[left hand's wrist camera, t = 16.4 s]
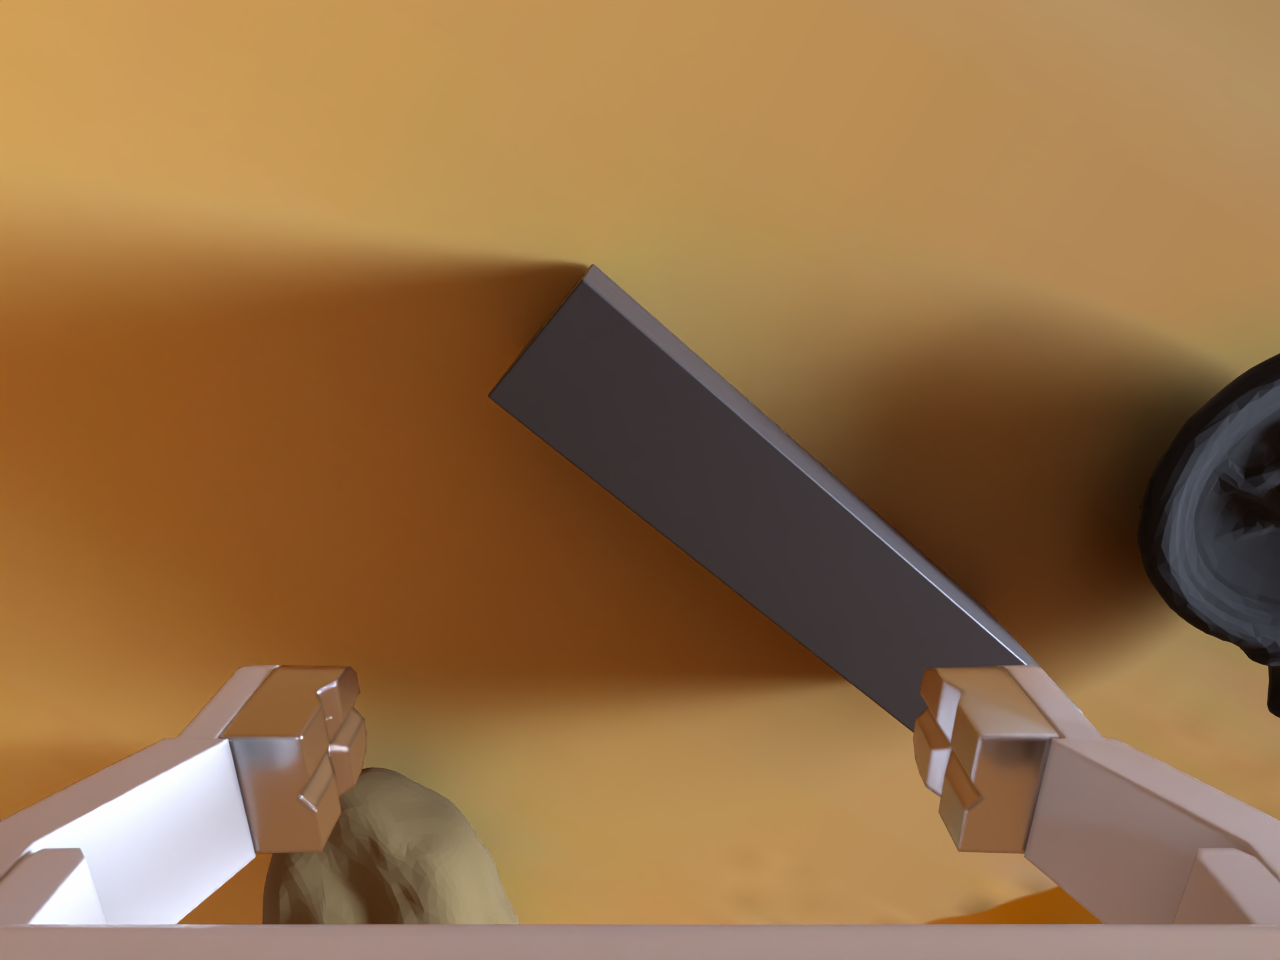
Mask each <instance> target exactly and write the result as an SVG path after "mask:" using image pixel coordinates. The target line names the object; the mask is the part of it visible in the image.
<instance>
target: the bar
mask: <svg viewBox="0 0 1280 960" xmlns="http://www.w3.org/2000/svg"><path fill="white" fill-rule="evenodd" d="M488 397H489V398H490V399H491V400H493V401H494V402H495V403H496V404H498V405H499V406H500V407H501V408H503V409H504V410H505V411H506V412H508V413H509V414H510V415H512V416H513V417H514V418H515V419H517V420H518V421H519V422H520V423H522V424H523V425H524V426H525V427H527V428H528V429H529V430H531V431H532V432H533V433H534V434H536V435H537V436H538V437H539V438H541V439H542V440H543V441H545V442H546V443H547V444H548V445H550V446H551V447H552V448H553V449H555V450H556V451H557V452H558V453H560V454H561V455H562V456H564V457H565V458H566V459H567V460H569V461H570V462H571V463H572V464H574V465H575V466H576V467H577V468H579V469H580V470H581V471H583V472H584V473H585V474H586V475H588V476H589V477H590V478H591V479H593V480H594V481H595V482H596V483H598V484H599V485H600V486H602V487H603V488H604V489H605V490H607V491H608V492H609V493H610V494H612V495H613V496H614V497H615V498H617V499H618V500H619V501H621V502H622V503H623V504H624V505H626V506H627V507H628V508H629V509H631V510H632V511H633V512H634V513H636V514H637V515H638V516H640V517H641V518H642V519H643V520H645V521H646V522H647V523H648V524H650V525H651V526H652V527H654V528H655V529H656V530H657V531H659V532H660V533H661V534H662V535H664V536H665V537H666V538H667V539H669V540H670V541H671V542H673V543H674V544H675V545H676V546H678V547H679V548H680V549H681V550H683V551H684V552H685V553H686V554H688V555H689V556H690V557H692V558H693V559H694V560H695V561H697V562H698V563H699V564H700V565H702V566H703V567H704V568H705V569H707V570H708V571H709V572H711V573H712V574H713V575H714V576H716V577H717V578H718V579H719V580H721V581H722V582H723V583H724V584H726V585H727V586H728V587H730V588H731V589H732V590H733V591H735V592H736V593H737V594H738V595H740V596H741V597H742V598H743V599H745V600H746V601H747V602H749V603H750V604H751V605H752V606H754V607H755V608H756V609H757V610H759V611H760V612H761V613H763V614H764V615H765V616H766V617H768V618H769V619H770V620H771V621H773V622H774V623H775V624H776V625H778V626H779V627H780V628H782V629H783V630H784V631H785V632H787V633H788V634H789V635H790V636H792V637H793V638H794V639H795V640H797V641H798V642H799V643H801V644H802V645H803V646H804V647H806V648H807V649H808V650H809V651H811V652H812V653H813V654H814V655H816V656H817V657H818V658H820V659H821V660H822V661H823V662H825V663H826V664H827V665H828V666H830V667H831V668H832V669H833V670H835V671H836V672H837V673H839V674H840V675H841V676H842V677H844V678H845V679H846V680H847V681H849V682H850V683H851V684H852V685H854V686H855V687H856V688H858V689H859V690H860V691H861V692H863V693H864V694H865V695H866V696H868V697H869V698H870V699H872V700H873V701H874V702H875V703H877V704H878V705H879V706H880V707H882V708H883V709H884V710H885V711H887V712H888V713H889V714H891V715H892V716H893V717H894V718H896V719H897V720H898V721H899V722H901V723H902V724H903V725H904V726H906V727H907V728H908V729H910V730H911V731H912V732H913V733H914V727H915V719H916V717H917V716H918V715H919V714H920V713H921V712H922V711H923V710H924V709H925V708H926V707H927V704H926V703H925V701H924V699H923V697H922V696H921V694H920V687H921V681H922V676H923V674H924V672H925V670H926V668H933V667H993V666H1005V665H1035V666H1037V667H1039V668H1041V667H1040V666H1039V665H1038V664H1037V663H1036V662H1035V661H1034V660H1033V659H1032V657H1031V656H1030V655H1029V654H1028V653H1027V652H1026V651H1025V650H1024V649H1023V648H1022V647H1021V646H1020V644H1019V643H1018V642H1017V641H1016V640H1015V639H1014V638H1013V637H1012V636H1011V635H1010V634H1009V633H1008V632H1007V630H1006V629H1005V628H1004V627H1003V626H1002V625H1001V624H1000V623H999V622H998V621H997V620H996V619H995V618H994V616H993V615H992V614H991V613H990V612H989V611H988V610H987V609H986V608H984V607H983V606H982V605H981V604H980V603H979V602H978V601H976V600H975V599H974V598H973V597H972V596H971V595H970V594H968V593H967V592H966V591H965V590H964V589H963V588H962V587H960V586H959V585H958V584H957V583H956V582H955V581H954V580H953V579H951V578H950V577H949V576H948V575H947V574H946V573H945V572H943V571H942V570H941V569H940V568H939V567H938V566H937V565H935V564H934V563H933V562H932V561H931V560H930V559H929V558H927V557H926V556H925V555H924V554H923V553H922V552H921V551H920V550H918V549H917V548H916V547H915V546H914V545H913V544H912V543H910V542H909V541H908V540H907V539H906V538H905V537H904V536H902V535H901V534H900V533H899V532H898V531H897V530H896V529H894V528H893V527H892V526H891V525H890V524H889V523H888V522H887V521H885V520H884V519H883V518H882V517H881V516H880V515H879V514H877V513H876V512H875V511H874V510H873V509H872V508H871V507H869V506H868V505H867V504H866V503H865V502H864V501H863V500H861V499H860V498H859V497H858V496H857V495H856V494H855V493H854V492H852V491H851V490H850V489H849V488H848V487H847V486H846V485H844V484H843V483H842V482H841V481H840V480H839V479H838V478H836V477H835V476H834V475H833V474H832V473H831V472H830V471H828V470H827V469H826V468H825V467H824V466H823V465H822V464H821V463H819V462H818V461H817V460H816V459H815V458H814V457H813V456H811V455H810V454H809V453H808V452H807V451H806V450H805V449H803V448H802V447H801V446H800V445H799V444H798V443H797V442H795V441H794V440H793V439H792V438H791V437H790V436H789V435H788V434H786V433H785V432H784V431H783V430H782V429H781V428H780V427H778V426H777V425H776V424H775V423H774V422H773V421H772V420H770V419H769V418H768V417H767V416H766V415H765V414H764V413H762V412H761V411H760V410H759V409H758V408H757V407H756V406H754V405H753V404H752V403H751V402H750V401H749V400H748V399H747V398H745V397H744V396H743V395H742V394H741V393H740V392H739V391H737V390H736V389H735V388H734V387H733V386H732V385H731V384H729V383H728V382H727V381H726V380H725V379H724V378H723V377H721V376H720V375H719V374H718V373H717V372H716V371H715V370H714V369H712V368H711V367H710V366H709V365H708V364H707V363H706V362H704V361H703V360H702V359H701V358H700V357H699V356H698V355H696V354H695V353H694V352H693V351H692V350H691V349H690V348H688V347H687V346H686V345H685V344H684V343H683V342H682V341H681V340H679V339H678V338H677V337H676V336H675V335H674V334H673V333H671V332H670V331H669V330H668V329H667V328H666V327H665V326H663V325H662V324H661V323H660V322H659V321H658V320H657V319H655V318H654V317H653V316H652V315H651V314H650V313H649V312H648V311H646V310H645V309H644V308H643V307H642V306H641V305H640V304H638V303H637V302H636V301H635V300H634V299H633V298H632V297H630V296H629V295H628V294H627V293H626V292H625V291H624V290H622V289H621V288H620V287H619V286H618V285H617V284H616V283H615V282H613V281H612V280H611V279H610V278H609V277H608V276H607V275H605V274H604V273H603V272H602V271H601V270H600V269H599V268H597V267H596V266H595V265H594V264H592V265H591V266H590V267H589V269H588V270H587V271H586V272H585V274H584V275H583V276H582V277H581V279H580V280H579V281H578V282H577V284H576V285H575V286H574V287H573V289H572V290H571V291H570V292H569V294H568V295H567V296H566V297H565V298H564V300H563V301H562V302H561V303H560V305H559V306H558V307H557V308H556V310H555V311H554V312H553V313H552V315H551V316H550V317H549V318H548V320H547V321H546V322H545V323H544V325H543V326H542V327H541V328H540V329H539V331H538V332H537V333H536V334H535V336H534V337H533V338H532V339H531V341H530V342H529V343H528V344H527V346H526V347H525V348H524V349H523V351H522V352H521V353H520V354H519V356H518V357H517V358H516V360H515V361H514V362H513V363H512V365H511V366H510V367H509V369H508V370H507V371H506V372H505V374H504V375H503V376H502V378H501V379H500V380H499V382H498V383H497V384H496V385H495V387H494V388H493V389H492V391H491V392H490V393H489V395H488ZM1041 669H1042V668H1041ZM1044 672H1045V671H1044ZM1052 681H1053V680H1052ZM1053 682H1054V681H1053ZM1054 683H1055V682H1054ZM1055 684H1056V683H1055ZM1056 685H1057V684H1056ZM1057 686H1058V685H1057ZM1060 690H1061V689H1060ZM1061 691H1062V690H1061ZM1062 692H1063V691H1062ZM1063 693H1064V692H1063ZM1064 694H1065V693H1064ZM1065 695H1066V694H1065ZM1066 696H1067V695H1066ZM1067 697H1068V696H1067ZM1068 699H1069V700H1070V698H1069V697H1068ZM1070 701H1071V700H1070ZM1071 702H1072V701H1071ZM1072 703H1073V702H1072ZM1073 704H1074V703H1073ZM1074 705H1075V704H1074ZM1075 706H1076V705H1075ZM1076 707H1077V706H1076ZM1077 709H1078V710H1079V711H1080V712H1081V713H1082V711H1081V710H1080V709H1079V708H1078V707H1077Z"/></svg>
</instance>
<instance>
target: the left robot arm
mask: <svg viewBox="0 0 1280 960" xmlns="http://www.w3.org/2000/svg"><path fill="white" fill-rule="evenodd" d="M359 694H360V688H359V683H358V678H357V672H355V671H354V670H353V669H352V668H351V667H345V666H297V665H282V666H279V665H247V666H244V667H240V668H238V669H237V670H236V672H235V673H234V674H233V675H232V676H231V677H230V678H229V679H228V681H227V682H226V683H225V684H224V685H223V686H222V687H221V688H220V690H219V691H218V692H217V693H216V694H215V695H214V696H213V697H212V698H211V700H210V701H209V702H208V703H207V704H206V705H205V706H204V707H203V709H202V710H201V711H200V712H199V713H198V714H197V715H196V716H195V718H194V719H193V720H192V721H191V722H190V723H189V724H188V725H187V726H186V728H185V729H184V730H183V731H182V732H181V733H180V734H179V735H178V737H177V738H176V739H162V740H160V741H158V742H156V743H154V744H152V745H150V746H148V747H146V748H144V749H142V750H140V751H138V752H136V753H134V754H132V755H130V756H128V757H126V758H124V759H122V760H120V761H118V762H116V763H114V764H112V765H110V766H108V767H106V768H104V769H102V770H100V771H98V772H96V773H94V774H92V775H90V776H88V777H86V778H84V779H82V780H80V781H78V782H76V783H74V784H72V785H70V786H68V787H66V788H64V789H62V790H60V791H58V792H56V793H54V794H52V795H50V796H48V797H46V798H44V799H42V800H40V801H38V802H36V803H34V804H32V805H30V806H28V807H26V808H24V809H22V810H20V811H18V812H16V813H14V814H12V815H10V816H8V817H6V818H4V819H2V820H0V960H1280V821H1279V820H1277V819H1275V818H1273V817H1271V816H1269V815H1267V814H1265V813H1263V812H1261V811H1259V810H1257V809H1255V808H1253V807H1251V806H1249V805H1247V804H1245V803H1243V802H1241V801H1239V800H1237V799H1235V798H1233V797H1231V796H1229V795H1227V794H1225V793H1223V792H1221V791H1219V790H1217V789H1215V788H1213V787H1211V786H1209V785H1207V784H1205V783H1203V782H1201V781H1199V780H1197V779H1195V778H1193V777H1191V776H1190V775H1188V774H1186V773H1184V772H1182V771H1180V770H1178V769H1176V768H1174V767H1172V766H1170V765H1168V764H1166V763H1164V762H1162V761H1160V760H1158V759H1156V758H1154V757H1152V756H1150V755H1148V754H1146V753H1144V752H1142V751H1140V750H1138V749H1136V748H1134V747H1132V746H1130V745H1128V744H1126V743H1124V742H1122V741H1120V740H1118V739H1104V738H1103V737H1102V735H1101V734H1100V733H1099V732H1098V731H1097V730H1096V729H1095V728H1094V727H1093V725H1092V724H1091V723H1090V722H1089V721H1088V720H1087V719H1086V718H1085V716H1084V715H1083V714H1082V713H1081V712H1080V711H1079V710H1078V709H1077V707H1076V706H1075V705H1074V704H1073V703H1072V702H1071V701H1070V700H1069V699H1068V697H1067V696H1066V695H1065V694H1064V693H1063V692H1062V691H1061V690H1060V688H1059V687H1058V686H1057V685H1056V684H1055V683H1054V682H1053V681H1052V679H1051V678H1050V677H1049V676H1048V675H1047V674H1046V673H1045V672H1044V670H1043V669H1041V668H1039V667H1037V666H1035V665H1005V666H993V667H933V668H926V670H925V672H924V674H923V676H922V681H921V687H920V694H921V696H922V697H923V699H924V701H925V703H926V704H927V707H926V708H925V709H924V710H923V711H922V712H921V713H920V714H919V715H918V716H917V717H916V719H915V727H914V736H913V742H914V753H915V760H916V763H917V767H918V770H919V773H920V776H921V778H922V780H923V782H924V784H925V786H926V787H927V788H928V789H929V790H931V791H932V792H934V793H935V794H937V795H938V796H939V797H941V800H940V806H939V814H940V816H941V818H942V820H943V822H944V824H945V826H946V828H947V830H948V832H949V834H950V836H951V838H952V840H953V842H954V844H955V846H956V848H957V850H958V852H987V853H1022V854H1025V855H1024V857H1025V858H1026V859H1028V860H1029V861H1030V862H1031V863H1032V864H1033V865H1035V866H1036V867H1037V868H1038V869H1039V870H1041V871H1042V872H1043V873H1044V874H1045V875H1047V876H1048V877H1049V878H1050V879H1051V880H1052V881H1054V882H1055V883H1056V884H1057V885H1058V886H1060V887H1061V888H1062V889H1063V890H1064V891H1066V892H1067V893H1068V894H1069V895H1070V896H1072V897H1073V898H1074V899H1075V900H1076V901H1077V902H1079V903H1080V904H1081V905H1082V906H1083V907H1085V908H1086V909H1087V910H1088V911H1089V912H1091V913H1092V914H1093V915H1094V916H1095V917H1097V918H1098V919H1099V920H1100V921H1101V922H1102V923H1104V924H961V925H960V924H959V925H958V924H957V925H956V924H954V925H953V924H948V925H947V924H942V925H941V924H937V925H936V924H933V925H931V924H885V925H884V924H883V925H669V924H239V925H220V924H177V923H178V922H179V921H180V920H181V919H183V918H184V917H185V916H186V915H187V914H188V913H190V912H191V911H192V910H193V909H194V908H196V907H197V906H198V905H199V904H200V903H202V902H203V901H204V900H205V899H206V898H208V897H209V896H210V895H211V894H212V893H214V892H215V891H216V890H217V889H218V888H219V887H221V886H222V885H223V884H224V883H225V882H227V881H228V880H229V879H230V878H231V877H233V876H234V875H235V874H236V873H237V872H239V871H240V870H241V869H242V868H243V867H244V866H246V865H247V864H248V863H249V862H250V861H252V860H253V859H254V858H255V857H256V855H255V854H257V853H292V852H322V850H323V848H324V846H325V844H326V842H327V840H328V838H329V836H330V834H331V832H332V830H333V828H334V826H335V824H336V822H337V820H338V818H339V816H340V814H341V806H340V800H339V797H341V796H342V795H343V794H345V793H346V792H348V791H349V790H351V789H352V788H353V787H354V786H355V784H356V782H357V780H358V778H359V775H360V773H361V771H362V767H363V762H364V758H365V753H366V737H367V733H366V726H365V719H364V717H363V716H362V715H361V714H360V713H359V712H358V711H357V710H356V709H355V708H354V707H353V704H354V703H355V701H356V699H357V697H358V696H359Z"/></svg>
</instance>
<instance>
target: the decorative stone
mask: <svg viewBox="0 0 1280 960" xmlns="http://www.w3.org/2000/svg"><path fill="white" fill-rule="evenodd" d="M339 800H340V806H341V814H340V816H339V818H338V820H337V822H336V824H335V826H334V828H333V830H332V832H331V834H330V836H329V838H328V840H327V842H326V844H325V846H324V848H323V850H322V852H292V853H273V855H272V859H271V862H270V866H269V869H268V873H267V877H266V882H265V887H264V895H263V924H520V923H519V920H518V918H517V916H516V914H515V912H514V910H513V908H512V906H511V904H510V902H509V900H508V898H507V896H506V894H505V891H504V889H503V886H502V884H501V882H500V879H499V877H498V874H497V871H496V868H495V865H494V862H493V859H492V857H491V855H490V853H489V852H488V850H487V848H486V847H485V846H484V845H483V844H482V842H481V841H480V839H479V838H478V836H477V835H476V833H475V831H474V829H473V828H472V826H471V825H470V823H469V822H468V821H467V819H466V818H465V817H464V815H463V814H462V813H461V812H460V810H459V809H458V808H457V807H456V806H455V805H454V804H453V803H452V802H451V801H449V800H448V799H447V798H445V797H443V796H441V795H440V794H438V793H436V792H434V791H432V790H430V789H428V788H426V787H424V786H422V785H420V784H418V783H416V782H413V781H411V780H410V779H408V778H407V777H405V776H403V775H401V774H399V773H397V772H395V771H392V770H388V769H384V768H366V769H362V771H361V773H360V775H359V778H358V780H357V782H356V784H355V786H354V787H353V788H352V789H351V790H349V791H348V792H346V793H345V794H343V795H342V796H341V797H339Z"/></svg>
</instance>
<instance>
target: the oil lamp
mask: <svg viewBox="0 0 1280 960" xmlns="http://www.w3.org/2000/svg"><path fill="white" fill-rule="evenodd" d="M1140 508H1141V514H1140V521H1139V528H1138V544H1139V549H1140V553H1141V557H1142V562H1143V565H1144V568H1145V571H1146V574H1147V576H1148V578H1149V580H1150V582H1151V583H1152V584H1153V586H1154V587H1155V589H1156V590H1157V591H1158V593H1159V594H1160V595H1161V597H1162V598H1163V599H1164V601H1165V602H1166V603H1167V604H1168V606H1169V607H1170V608H1171V609H1172V610H1174V611H1175V612H1176V613H1177V614H1178V615H1179V616H1180V617H1181V618H1183V619H1184V620H1185V621H1187V622H1188V623H1190V624H1191V625H1193V626H1194V627H1196V628H1198V629H1199V630H1201V631H1203V632H1204V633H1206V634H1209V635H1212V636H1214V637H1217V638H1219V639H1221V640H1223V641H1228V642H1231V643H1233V644H1235V645H1237V646H1239V647H1240V648H1241V650H1243V651H1244V652H1245V654H1246V655H1247V656H1248V657H1249V658H1250V659H1251V660H1253V661H1255V662H1257V663H1260V664H1262V665H1267V666H1268V670H1269V687H1268V699H1267V706H1268V709H1269V711H1270V712H1271V713H1272V714H1274V715H1275V716H1277V717H1279V718H1280V354H1278V355H1276V356H1274V357H1272V358H1270V359H1268V360H1266V361H1264V362H1262V363H1260V364H1258V365H1256V366H1254V367H1253V368H1251V369H1249V370H1248V371H1246V372H1245V373H1243V374H1242V375H1240V376H1239V377H1237V378H1236V379H1235V380H1234V381H1232V382H1231V383H1230V384H1229V385H1227V386H1226V387H1225V388H1224V389H1222V390H1221V391H1220V392H1219V393H1218V394H1216V395H1215V396H1214V397H1213V398H1212V399H1210V400H1209V401H1208V402H1207V403H1206V404H1205V405H1204V406H1203V407H1202V408H1201V409H1200V410H1199V411H1197V412H1196V413H1195V414H1194V415H1193V416H1192V417H1190V418H1189V419H1188V420H1187V422H1186V423H1185V424H1184V426H1183V427H1182V428H1181V429H1180V431H1179V432H1178V434H1177V436H1176V437H1175V439H1174V441H1173V442H1172V444H1171V445H1170V446H1169V448H1168V449H1167V450H1166V452H1165V453H1164V454H1163V456H1162V457H1161V459H1160V461H1159V463H1158V465H1157V466H1156V468H1155V470H1154V472H1153V474H1152V476H1151V478H1150V480H1149V483H1148V486H1147V489H1146V492H1145V496H1144V499H1143V503H1142V506H1141V507H1140Z"/></svg>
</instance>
